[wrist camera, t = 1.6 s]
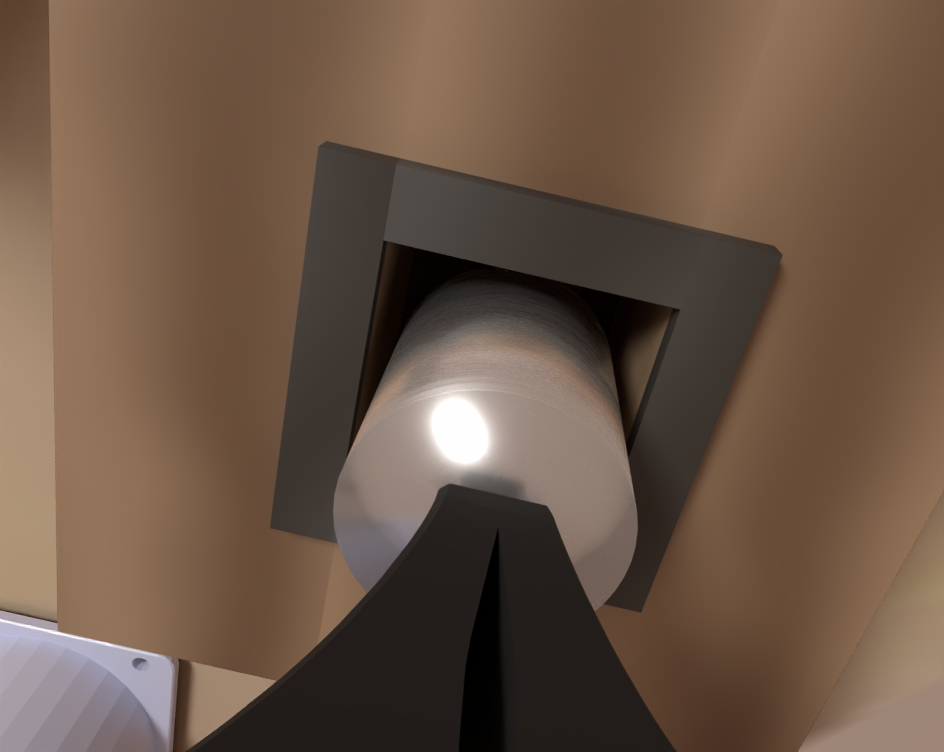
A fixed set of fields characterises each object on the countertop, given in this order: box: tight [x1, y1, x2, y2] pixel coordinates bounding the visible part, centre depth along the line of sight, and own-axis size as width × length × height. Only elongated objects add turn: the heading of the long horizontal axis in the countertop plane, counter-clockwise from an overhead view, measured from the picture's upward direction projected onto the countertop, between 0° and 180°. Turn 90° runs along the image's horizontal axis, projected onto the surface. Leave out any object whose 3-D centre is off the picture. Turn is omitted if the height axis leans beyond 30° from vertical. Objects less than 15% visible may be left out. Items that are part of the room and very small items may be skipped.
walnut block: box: [49, 0, 944, 752], centre depth 16 cm, size 16×16×6 cm
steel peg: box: [333, 267, 638, 611], centre depth 13 cm, size 4×4×5 cm
